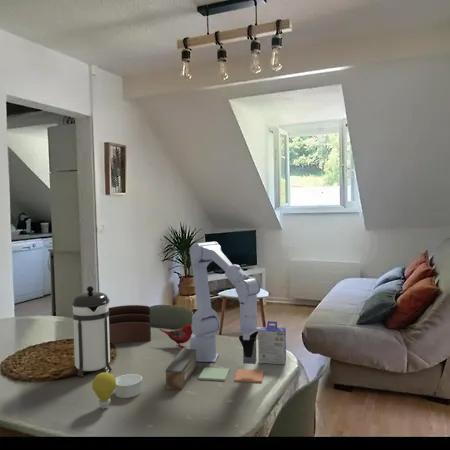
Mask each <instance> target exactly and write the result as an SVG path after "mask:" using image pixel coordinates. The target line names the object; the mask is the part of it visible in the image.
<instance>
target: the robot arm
mask: <svg viewBox="0 0 450 450" xmlns="http://www.w3.org/2000/svg"><path fill="white" fill-rule="evenodd" d="M221 246H222V245H220V244H219V242H217V241H215V240H214V241H205V242H194V243H192V245H191V247H190V248H189V255H190V265H191V266H192V275H193V283H194V284H193V285H194V290H195V291H194V293H195V300H196V311H195V312H194V314H192V316H191V325H192V326H191V328H192V335H191V337H190V339H189V349H196V362H202V363H203V362H204V363H215V362H216V360H217V359H218V357H219V353H217V345H216V343H217V339H216V337H217V336H216V335H218V332H219V331H220V329H221V328H220V327H221V322H220V318H219V317H218V312H216V311H215V310H214V309H213V308H212V302H211V293H210V286H209V278H208V277H209V276H208V269H207V267H208V266H209V264H210V263H212V262H214V263H215V264H217V266H218V267H220V269H222V270H224V274H225V277H226V279H228V281H229V282H230V283H231V284H232V285H233V286H234V287H235V293H236V294H237V296H238V297H237V300H238V302H239V331H240V333H241V335H239V336H238V339H239V341H240V343H241V347H242V351H243V350H244V355H245V357H248V358H251V357H252V352H253V345H254V342H255V340H256V341H257V337H258V331H260V330H261V327H262V326H258V294H259V293H260V292H261V284H260V281H259V280H258V278H257V277H255V276H254V277H252V276H249V275H248V273H246V272H245V270H243V269H242V268H241V266H240V265H239V264H235V263H234V264H233V263H232V262H231V261H230V259H228V257H227V255H225V254H224V252H223V251H222V247H221Z"/></svg>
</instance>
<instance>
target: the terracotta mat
mask: <svg viewBox="0 0 450 450" xmlns="http://www.w3.org/2000/svg"><path fill="white" fill-rule="evenodd" d="M264 373H265V370H262V369H261V370H260V369H240V368H239V369H237V371H236V374H235V377H234V379H233V380H234V381H233V382H237V383H238V382H239V383H254V384H257V383H258V384H261V383H263V377H264Z"/></svg>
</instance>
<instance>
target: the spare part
mask: <svg viewBox="0 0 450 450" xmlns="http://www.w3.org/2000/svg"><path fill="white" fill-rule="evenodd" d="M242 360H243V362H242V363H243V364H245V365H246V364H249V365H250V364H251V365H256V364H257V363H256V362H257V339H256V340H255V342H254V345H253V352H252V357H251V358H248V357H245V355H244V350H243V349H242Z"/></svg>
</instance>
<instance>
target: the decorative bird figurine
mask: <svg viewBox="0 0 450 450" xmlns="http://www.w3.org/2000/svg"><path fill="white" fill-rule="evenodd" d="M191 326H192V324H185V325H184V326H183V327H182V328H177V329H176V328H175V329H173V330H170V331H168V330H164V329H162V328H159V330H160V331H161V332H163V333H165V334H166V335H167V336H168V337H169V338H170V339H171V340H172V341H174V342H175V343H176V345H175V346H177V347H179V348H182V349H184V348H185V346H184V345H182V344H186V343H187V342H188V341H190V340H191V336H192V335H193V332H192V328H191Z"/></svg>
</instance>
